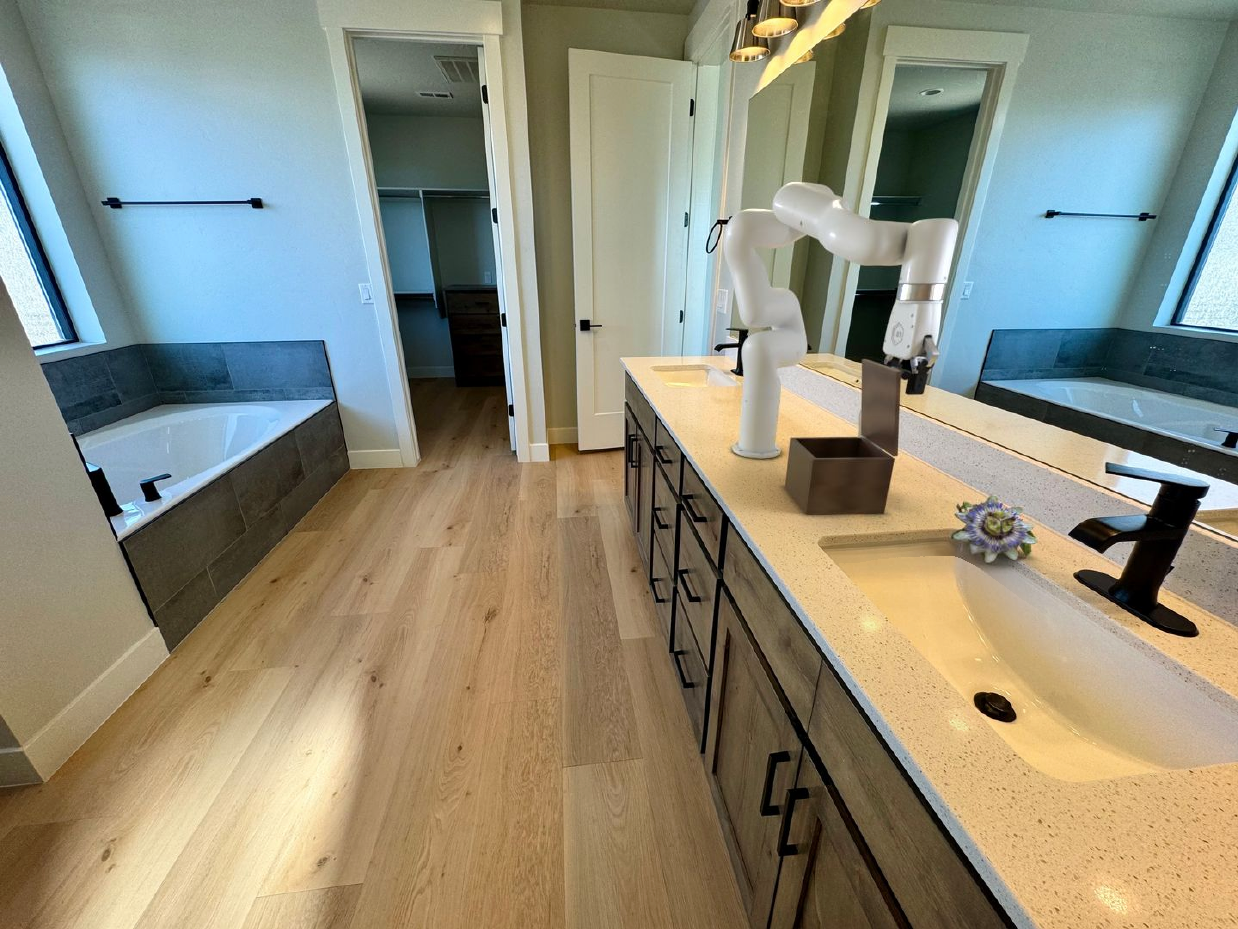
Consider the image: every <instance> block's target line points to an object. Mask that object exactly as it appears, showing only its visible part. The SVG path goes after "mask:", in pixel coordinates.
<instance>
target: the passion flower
mask: <svg viewBox="0 0 1238 929" xmlns="http://www.w3.org/2000/svg"><path fill="white" fill-rule="evenodd" d="M1003 506H1004V502H1000V501H999V497H998V496H997V495H996V494H994V493H991V495H989V496H988V497H987V498H986V500H985V501H984V502H980V503H979V504H977V503H975V504H972V503H970V502H968V501H963V502H962V505H960V503H958V502H957V504H956V505H955V507H956V509H957V511H958V512H957V513H954V516H955V518H957V519H958V520H959V521H960V522H961V523H963V524H965V525H964V526H963V527H962V528H961V529H957V530H956V531H953V532H952V533H951V534H950V538H951V539H952V540H956V541H964V540H967V541H968V552H969V554H970V556H974V555H975V556H976V555H977V554H978V555H980V556H982V558H983V561H984V563H985V564H991V563H993V562H994V561H995V560H996V559H997V557H998V555H999V554H1004V555H1005V556H1006V557H1007V558H1008V559H1010V560H1012V561H1016V560H1017V559H1018V557H1019V551H1018V550H1019V549H1018V548H1020V549H1021V551H1022V553H1023V555H1024V557H1025V558H1026V557H1028V556H1029V555H1030V554H1031V553H1032V545H1035V544H1037V543H1038V539H1037V538H1036V536H1035V534H1034V533H1033V532H1032V530H1033V529H1034V528H1035V525H1034V524H1033V523H1031V522H1028V521H1023V520H1024V519H1023V518H1021V517H1022V515H1021V514H1022V513H1023V511H1024V507H1023V506H1021V505H1020V506H1013V507H1012V506H1011V507H1009V508H1008V507H1003ZM968 508H969V509H968ZM963 510H964V511H963ZM1019 516H1020V517H1019Z"/></svg>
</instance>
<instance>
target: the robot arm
mask: <svg viewBox="0 0 1238 929" xmlns="http://www.w3.org/2000/svg"><path fill="white" fill-rule="evenodd" d="M958 232H959V222H958V220H956V219H954V218H946V217H943V218H942V217H939V218H926V219H919V220H917V221H914V222H900V221H890V220H874V219H871V218H868V217H865V216H862V215H860V214H858V213H854V212H852V211H851V206H850V203H849V201H848V200H847V199H846V198H845V197H843V196H840V195H837V194H835V193H834V191H833V190H832V189H831V188H830V187H829V186H827V185H824V184H820V183H813V182H803V181H794V182H788V183H787V184H784V185H783V186H782V187H780V188H779V189H778V190H777V192H776V193H775V195H774V197H773V200H772V209H763V208H747V209H743V210H740V211H737V212H735V213H734V214H733V215H732V216H731V218H730V219H729V220H728V222H727V224H726V226H725V230H724V232H723V239H722V250H723V254H724V259H725V262H726V264H727V267H728V271H729V273H730V276H731V279H732V284H733V285H732V286H733V290H734V295H735V299H736V304H737V309H738V314H739V317H740V320H741V322H742V324H743V325H745V327H747V328H754V329H755V328H770V327H771V330H763V331H758V332H755V333H753V334H750V335H749V336H748V337H747V338H745V340H744V342H743V344H742V347H741V363H742V370H743V371H742V375H743V376H742V378H743V379H742V396H741V409H740V419H739V420H740V421H739V433H738V434H739V435H738V441H736V442H734V443H733V445H732V451H733V453H735V454H737V455H739V456H741V457H745V458H749V459H759V460H762V459H772V458H776V457H778V456H779V455H780V454H781V451H782V449H781V447H780V446H779V445H778V444H776V441H777V440H776V439H777V431H778V421H779V412H780V403H781V392H782V384H781V378H780V376H779V374H778V369H782V368H789V367H794V366H797V365H798V364H800V363H801V362H802V361H804V360H805V358H806V356H807V352H808V339H807V333H806V329H805V328H806V327H805V323H804V318H803V314H802V309H801V305H800V302H799V299H798V297H797V295H796V294H795V293H794V291H792V290H790V289H789V288H786V287H772V286H771V283H770V279H769V275H768V271H767V270H768V269H767V267H766V265H765V262H764V260H763V259H762V258H761V257H760V255H759V254H758V253H757V252H756V249H782V248H785V247H788V246H790V245H791V244H794V243H796V241H798V240H800V239H802V238H804V237H805V236H809V237H812V238H814V239H816V240H817V241H819V243H820V244H821V246H822V247H823V248H824V249H825V250H826V251H828V252H829V253H832V254H833V255H835V256H838V257H840V258H842V259H844V260H846V261H849V262H851V263H853V264H856V265H859V266H865V267H866V266H882V267H883V266H884V267H885V266H886V267H888V266H889V267H892V266H900V265H901V269H900V275H899V280H898V286H897V292H896V297H895V302H894V305H893V307H892V310H891V313H890V316H889V320H888V324H887V328H886V331H885V336H884V341H883V346H882V351H883V352H884V353H883V354H884V356H885V357H884V361H883V363H884V365H885V366H888V367H892V366H896V367H899V368H902V369H903V364H901V363H902V362H903V360H905V361H907V360H910V367H911V373H909V376H908V380H906V381H907V382H906V387H905V392H904V393H905V395H908V396H918V395H919V396H921V395H922V396H923V395H924V393H925V390H926V385H927V380H928V377H929V374H931V371H932V370H931V369H932V368H933V367H934V366H935V364H936V362H937V360H938V358H939V357H940V351H939V349H938V347H937V345H938V344H937V343H938V340H939V333H940V325H941V319H942V304H943V303H944V298H945V293H946V289H947V288H946V287H947V286H948V285H947V284H948V279H949V276H950V270H951V267H952V266H951V264H952V260H953V255H954V251H955V248H956V242H957V237H958ZM919 362H920V363H919Z"/></svg>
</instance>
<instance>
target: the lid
mask: <svg viewBox="0 0 1238 929" xmlns="http://www.w3.org/2000/svg"><path fill="white" fill-rule="evenodd" d="M885 365H886V364H881V363H879V362H876V361H873V360H871V359H867V358H863V359H861V401H860V402H861V409H860V410H861V435H862V436H864V437H865V438H867V439H868V440H870V441H871V442H873V443H874V444H876V445H877V446H879V447H880V448H882V449H883V451H884V452H886V453H887V454H889V455H890V456H892V457H898V456H899V436H900V435H899V433H900V411H901V410H900V406H901V388H902V387H901V384H902V381H908V376H909V373H912V371H910V370H908V369H904V368H903V367H902V368H899V367H896V366H892V367H888V366H885Z"/></svg>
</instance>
